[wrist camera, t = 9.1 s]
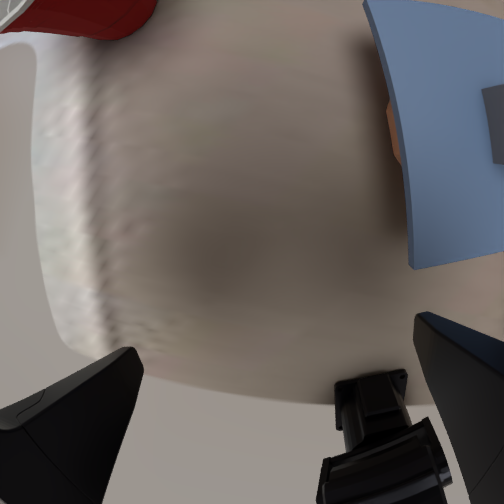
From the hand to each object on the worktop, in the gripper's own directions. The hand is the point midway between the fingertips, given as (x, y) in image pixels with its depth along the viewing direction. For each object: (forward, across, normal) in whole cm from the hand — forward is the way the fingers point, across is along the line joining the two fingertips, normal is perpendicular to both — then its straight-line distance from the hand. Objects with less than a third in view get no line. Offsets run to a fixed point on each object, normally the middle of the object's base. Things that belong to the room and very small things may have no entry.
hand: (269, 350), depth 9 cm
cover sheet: (+7, -14, -6) cm, 17 cm away
